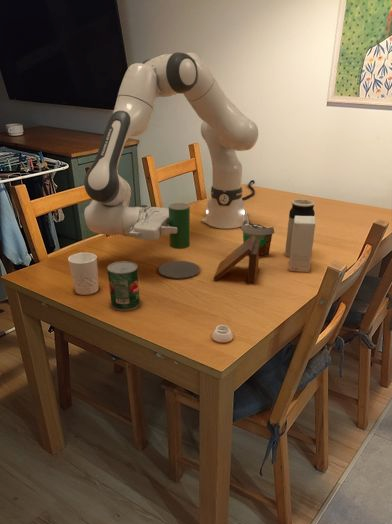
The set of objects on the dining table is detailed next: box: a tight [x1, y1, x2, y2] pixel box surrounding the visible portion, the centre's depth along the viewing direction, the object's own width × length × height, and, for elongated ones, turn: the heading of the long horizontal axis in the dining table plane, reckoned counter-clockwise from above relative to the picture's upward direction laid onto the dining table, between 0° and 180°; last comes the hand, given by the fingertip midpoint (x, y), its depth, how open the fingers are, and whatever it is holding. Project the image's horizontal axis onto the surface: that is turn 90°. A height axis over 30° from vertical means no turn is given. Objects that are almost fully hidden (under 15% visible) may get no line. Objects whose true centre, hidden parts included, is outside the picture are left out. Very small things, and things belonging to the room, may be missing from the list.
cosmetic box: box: [289, 215, 316, 273], centre depth 145 cm, size 8×7×16 cm
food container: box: [240, 220, 275, 258], centre depth 156 cm, size 12×6×10 cm, turn 47°
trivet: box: [158, 260, 201, 280], centre depth 147 cm, size 13×13×1 cm
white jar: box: [211, 324, 234, 343], centre depth 112 cm, size 5×3×5 cm
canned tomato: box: [106, 260, 141, 312], centre depth 125 cm, size 8×8×11 cm
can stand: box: [213, 235, 260, 285], centre depth 142 cm, size 12×12×11 cm
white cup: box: [67, 252, 99, 296], centre depth 133 cm, size 8×8×10 cm
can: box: [168, 202, 191, 250], centre depth 139 cm, size 6×13×13 cm
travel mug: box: [284, 198, 316, 258], centre depth 153 cm, size 8×8×18 cm
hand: (180, 225), depth 139 cm, fingers closed on can, 6 cm apart
